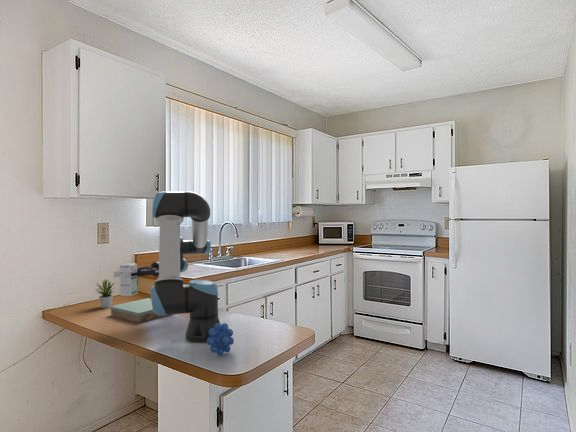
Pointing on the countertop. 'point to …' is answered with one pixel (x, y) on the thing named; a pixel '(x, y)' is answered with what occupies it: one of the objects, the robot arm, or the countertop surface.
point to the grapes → (220, 338)
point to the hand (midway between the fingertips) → (119, 274)
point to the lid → (135, 307)
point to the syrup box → (128, 280)
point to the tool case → (134, 316)
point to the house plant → (105, 294)
